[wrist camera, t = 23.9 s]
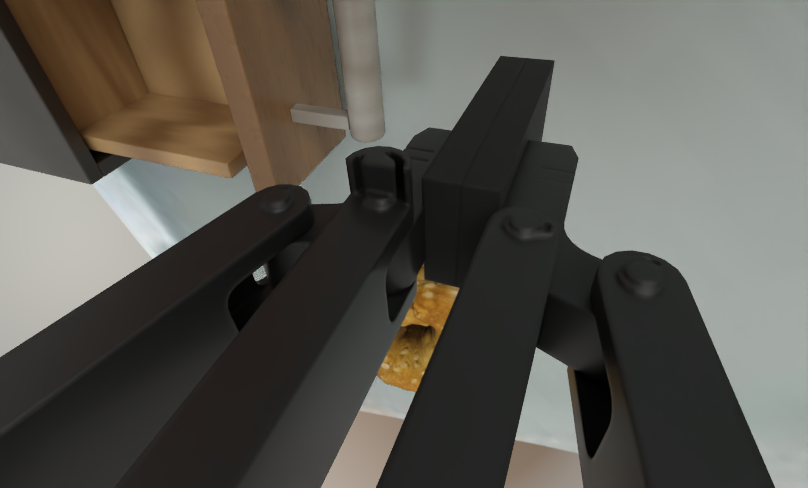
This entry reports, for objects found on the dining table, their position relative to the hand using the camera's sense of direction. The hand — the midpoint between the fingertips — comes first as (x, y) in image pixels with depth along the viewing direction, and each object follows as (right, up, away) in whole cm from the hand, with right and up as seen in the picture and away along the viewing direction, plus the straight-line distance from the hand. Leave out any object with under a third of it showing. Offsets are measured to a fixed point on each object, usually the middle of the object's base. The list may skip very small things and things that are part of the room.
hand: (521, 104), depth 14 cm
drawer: (-11, +7, +8) cm, 15 cm away
